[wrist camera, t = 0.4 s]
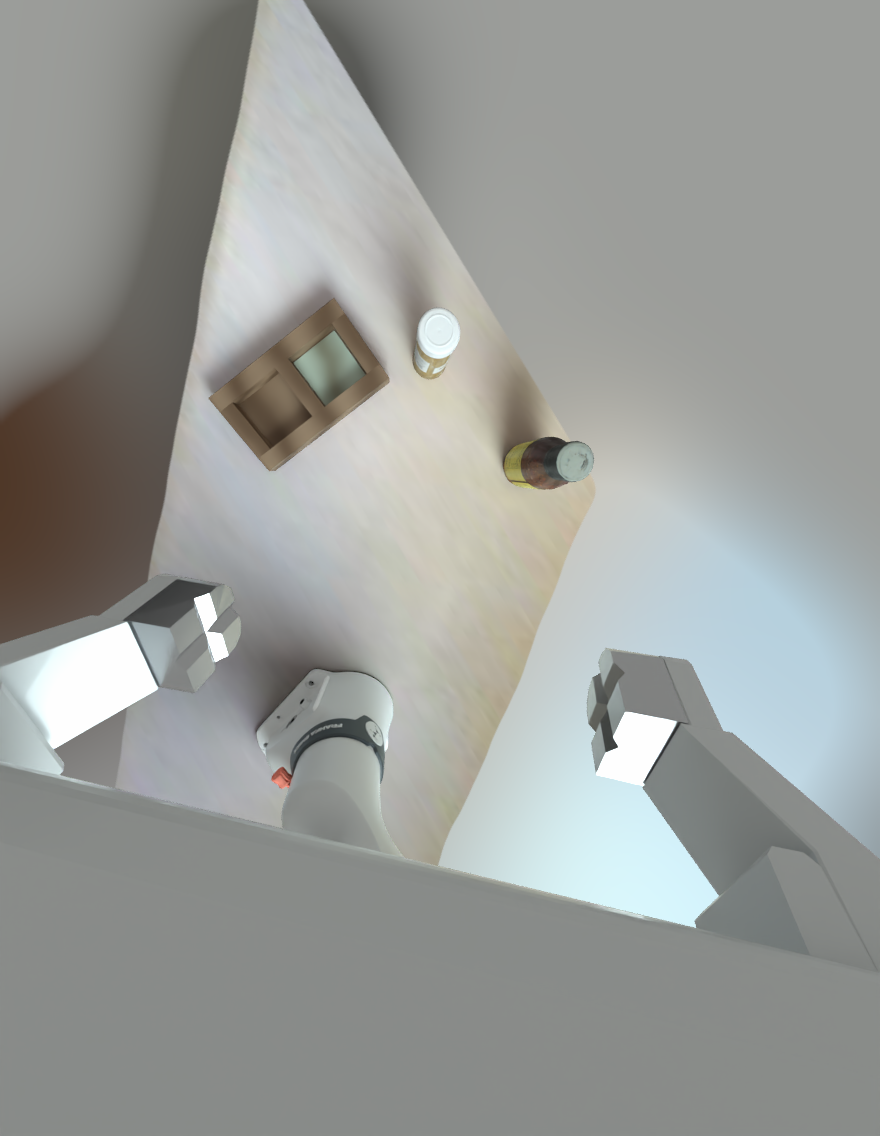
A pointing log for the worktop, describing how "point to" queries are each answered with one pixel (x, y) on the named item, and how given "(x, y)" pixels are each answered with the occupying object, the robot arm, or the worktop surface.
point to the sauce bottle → (548, 463)
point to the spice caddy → (301, 387)
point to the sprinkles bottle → (435, 342)
